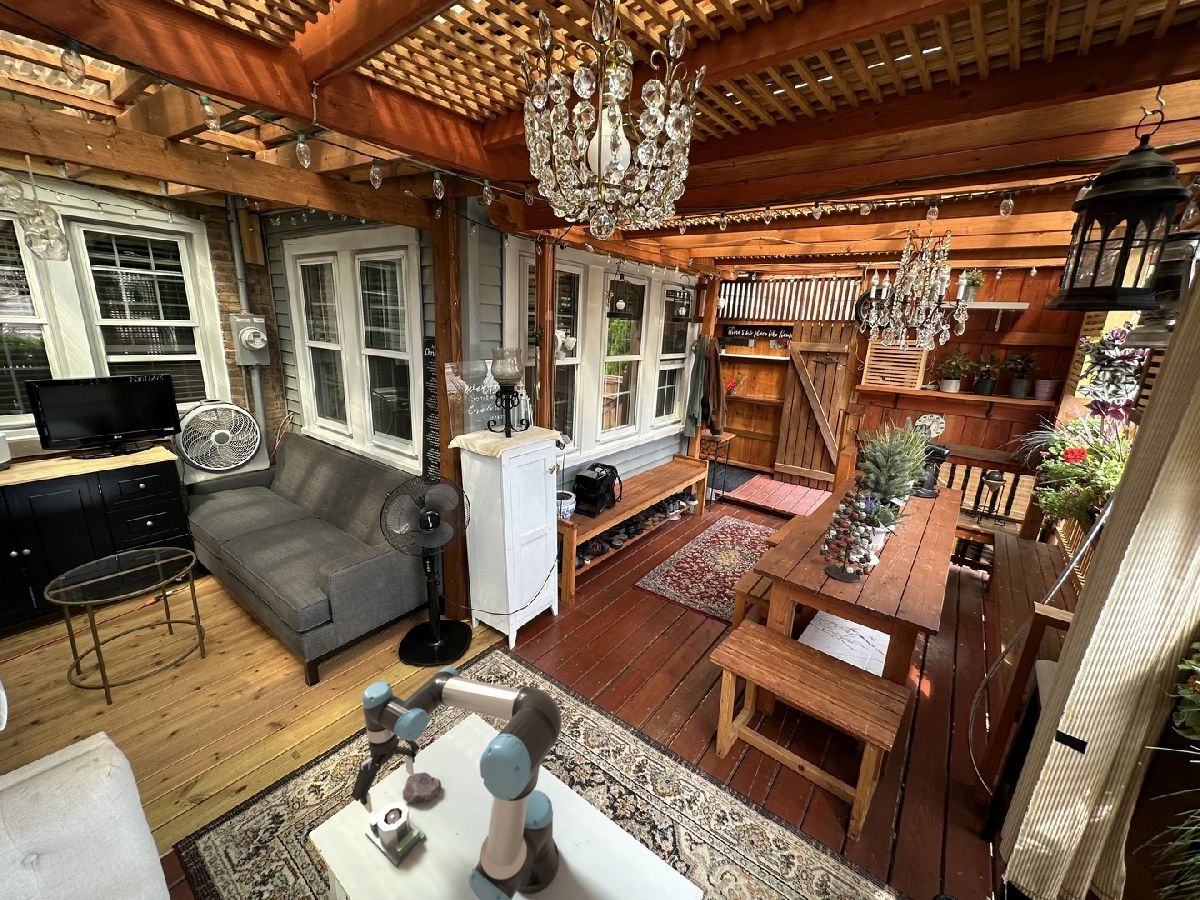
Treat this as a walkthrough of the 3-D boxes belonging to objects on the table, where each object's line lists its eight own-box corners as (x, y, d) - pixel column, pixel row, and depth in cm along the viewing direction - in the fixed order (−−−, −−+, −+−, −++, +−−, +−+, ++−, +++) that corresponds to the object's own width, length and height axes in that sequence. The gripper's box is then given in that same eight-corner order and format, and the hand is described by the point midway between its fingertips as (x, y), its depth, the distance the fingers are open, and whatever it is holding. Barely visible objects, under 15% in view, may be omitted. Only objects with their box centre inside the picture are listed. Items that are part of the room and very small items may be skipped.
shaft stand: (426, 836, 144) (423, 817, 142) (396, 867, 136) (394, 847, 134) (394, 807, 153) (392, 788, 150) (365, 834, 145) (362, 814, 142)
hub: (414, 829, 145) (412, 812, 143) (391, 853, 139) (388, 835, 137) (399, 814, 149) (397, 798, 147) (375, 836, 143) (373, 819, 141)
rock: (436, 804, 154) (435, 793, 153) (401, 805, 153) (399, 794, 152) (443, 781, 162) (442, 770, 161) (409, 782, 161) (408, 771, 160)
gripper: (412, 699, 146) (418, 753, 151) (331, 759, 126) (341, 818, 131) (427, 710, 142) (433, 765, 147) (346, 774, 122) (356, 834, 127)
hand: (390, 790), depth 139 cm, fingers open, 13 cm apart
